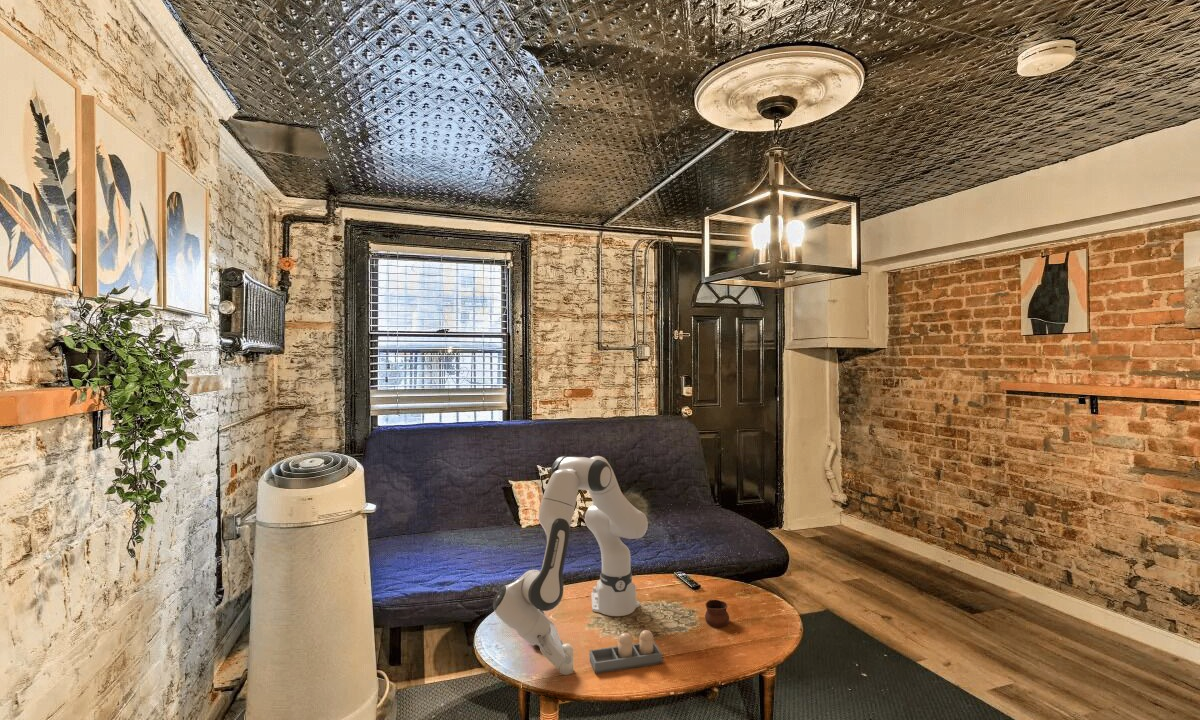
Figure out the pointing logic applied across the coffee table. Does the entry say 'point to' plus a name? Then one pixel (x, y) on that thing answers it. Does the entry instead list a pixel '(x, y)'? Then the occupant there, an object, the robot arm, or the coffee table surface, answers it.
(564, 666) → the cream round-topped peg
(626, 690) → the coffee table surface
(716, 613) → the ceramic pot
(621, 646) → the carton
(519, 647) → the coffee table surface
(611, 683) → the coffee table surface
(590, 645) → the coffee table surface
